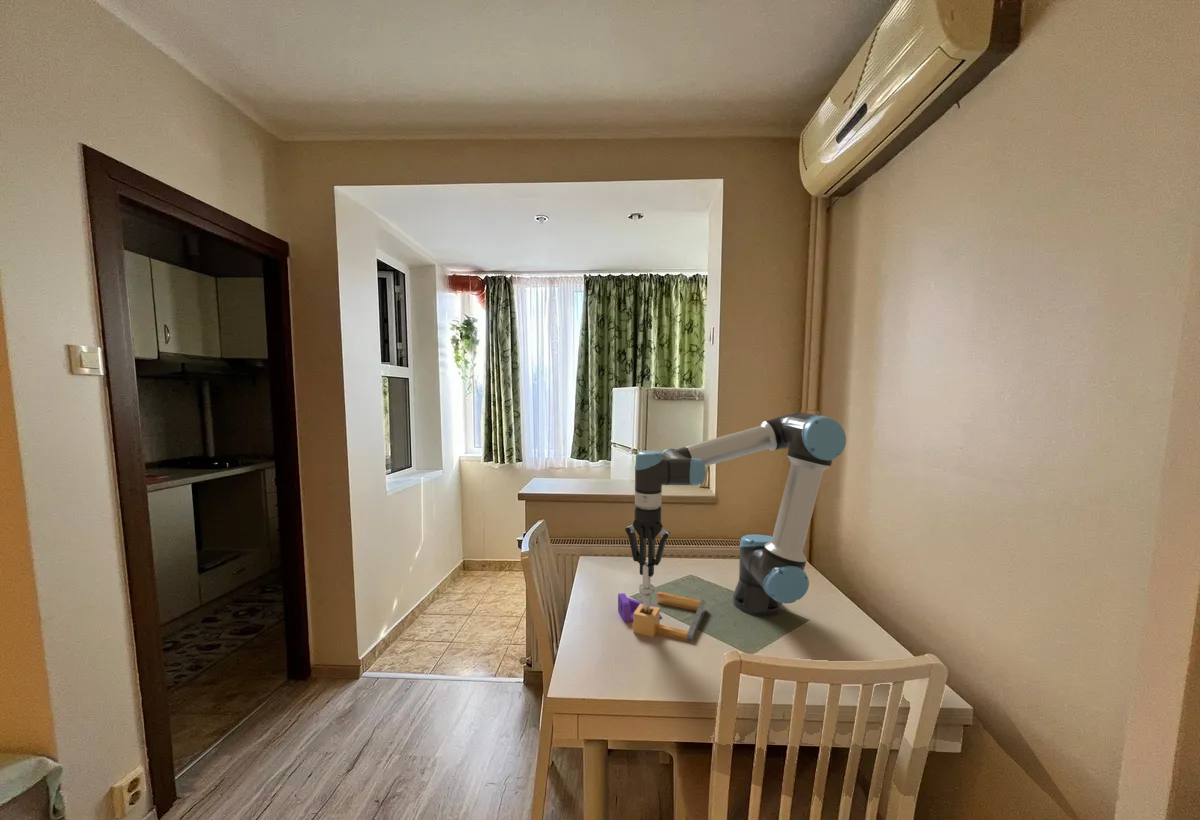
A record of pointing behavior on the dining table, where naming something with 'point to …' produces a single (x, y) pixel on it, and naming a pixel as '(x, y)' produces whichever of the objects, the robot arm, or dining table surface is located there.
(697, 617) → the u-shaped frame
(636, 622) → the sleeve
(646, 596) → the round-headed metal pin
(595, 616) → the dining table surface
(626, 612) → the bracket
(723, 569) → the dining table surface
